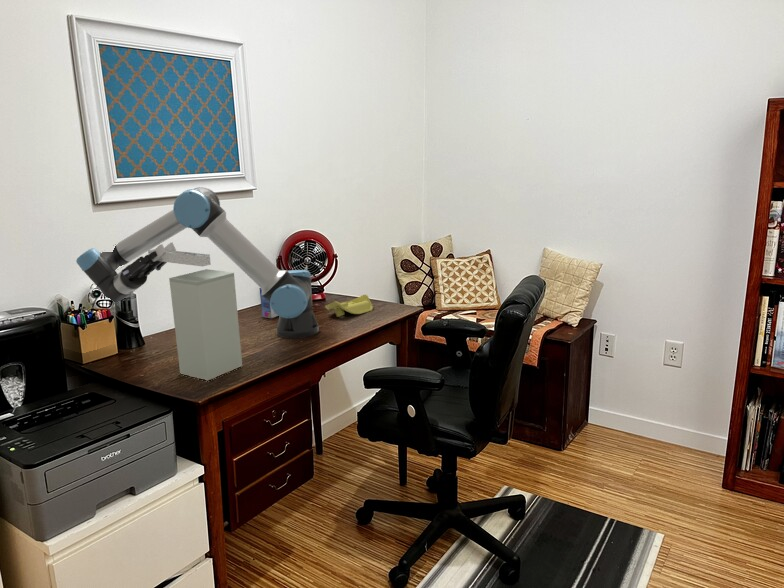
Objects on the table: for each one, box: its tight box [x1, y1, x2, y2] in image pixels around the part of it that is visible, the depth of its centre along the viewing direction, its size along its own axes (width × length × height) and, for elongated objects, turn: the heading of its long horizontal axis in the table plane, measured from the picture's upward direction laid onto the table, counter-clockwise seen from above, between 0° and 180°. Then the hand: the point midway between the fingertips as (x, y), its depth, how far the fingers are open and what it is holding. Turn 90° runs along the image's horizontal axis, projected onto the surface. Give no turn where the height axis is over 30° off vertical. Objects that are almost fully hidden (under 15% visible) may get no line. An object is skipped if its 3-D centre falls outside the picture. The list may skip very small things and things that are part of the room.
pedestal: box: [168, 268, 243, 380], centre depth 188 cm, size 12×14×30 cm
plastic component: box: [324, 294, 374, 318], centre depth 251 cm, size 20×7×10 cm
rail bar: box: [147, 248, 211, 267], centre depth 188 cm, size 24×3×3 cm, turn 58°
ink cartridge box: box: [259, 287, 278, 319], centre depth 250 cm, size 10×6×14 cm, turn 149°
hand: (168, 247), depth 189 cm, fingers closed on rail bar, 3 cm apart
